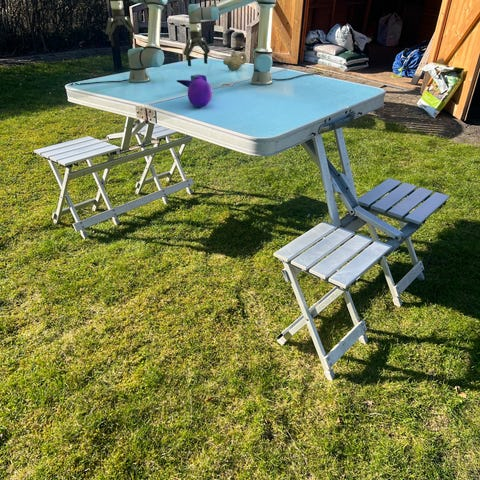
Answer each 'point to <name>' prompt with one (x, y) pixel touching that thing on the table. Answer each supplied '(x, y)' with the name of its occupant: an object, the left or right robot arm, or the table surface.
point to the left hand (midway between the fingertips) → (122, 45)
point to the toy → (198, 91)
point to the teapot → (235, 61)
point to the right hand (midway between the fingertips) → (197, 64)
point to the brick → (194, 77)
